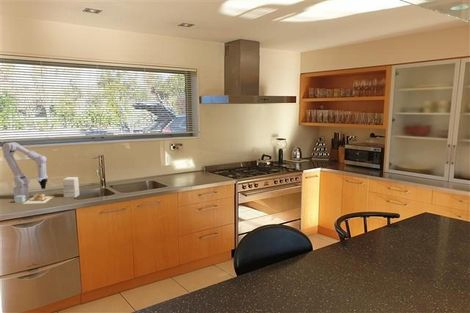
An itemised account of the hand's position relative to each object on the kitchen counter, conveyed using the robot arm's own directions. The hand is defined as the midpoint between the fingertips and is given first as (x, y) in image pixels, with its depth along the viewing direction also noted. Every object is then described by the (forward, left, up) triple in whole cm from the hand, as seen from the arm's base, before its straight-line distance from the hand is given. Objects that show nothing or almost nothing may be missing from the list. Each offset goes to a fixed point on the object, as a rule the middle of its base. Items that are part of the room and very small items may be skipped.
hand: (43, 188), depth 260 cm
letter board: (-1, -8, -7) cm, 11 cm away
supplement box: (+20, +1, -8) cm, 21 cm away
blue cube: (-12, -12, -7) cm, 19 cm away
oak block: (0, -9, -7) cm, 11 cm away
